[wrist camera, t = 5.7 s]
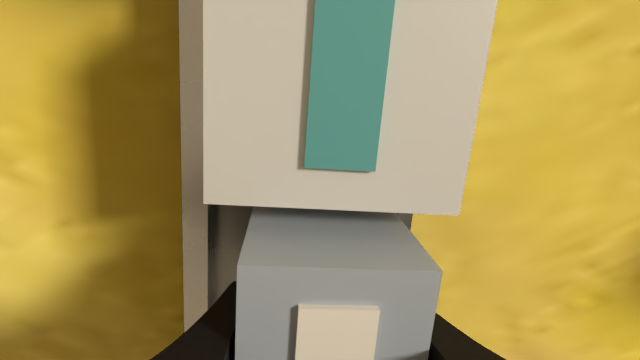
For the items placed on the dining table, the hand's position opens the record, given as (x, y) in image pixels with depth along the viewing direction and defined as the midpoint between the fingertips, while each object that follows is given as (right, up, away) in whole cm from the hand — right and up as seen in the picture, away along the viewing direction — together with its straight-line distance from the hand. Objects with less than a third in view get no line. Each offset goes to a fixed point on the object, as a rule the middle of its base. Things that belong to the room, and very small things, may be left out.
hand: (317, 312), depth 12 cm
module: (0, +7, +1) cm, 7 cm away
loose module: (0, +1, +2) cm, 2 cm away
